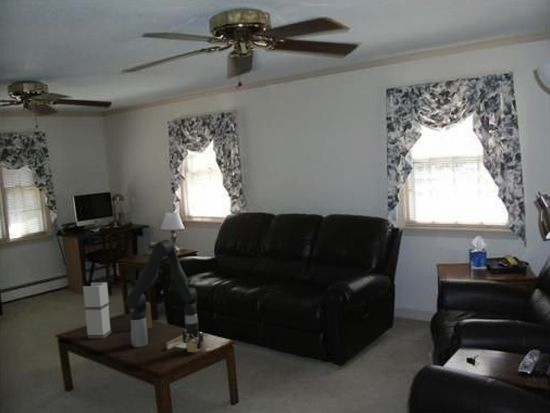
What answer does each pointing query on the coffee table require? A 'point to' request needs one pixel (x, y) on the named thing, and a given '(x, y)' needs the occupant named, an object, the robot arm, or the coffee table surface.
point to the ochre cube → (192, 346)
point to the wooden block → (148, 316)
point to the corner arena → (176, 342)
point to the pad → (182, 345)
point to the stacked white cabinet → (97, 310)
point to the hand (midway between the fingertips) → (193, 348)
